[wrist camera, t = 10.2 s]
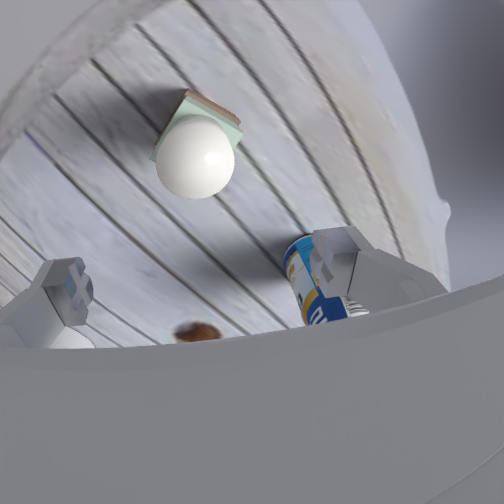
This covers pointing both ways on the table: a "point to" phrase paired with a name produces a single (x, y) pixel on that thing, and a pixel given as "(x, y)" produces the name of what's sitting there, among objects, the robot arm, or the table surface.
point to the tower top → (195, 108)
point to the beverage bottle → (314, 288)
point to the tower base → (206, 103)
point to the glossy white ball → (195, 158)
